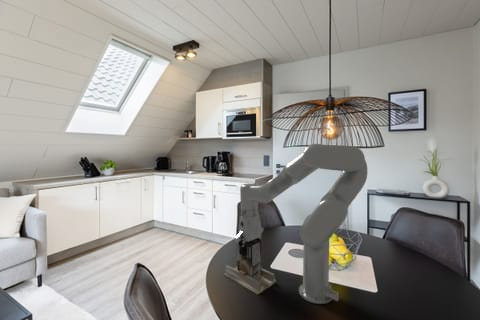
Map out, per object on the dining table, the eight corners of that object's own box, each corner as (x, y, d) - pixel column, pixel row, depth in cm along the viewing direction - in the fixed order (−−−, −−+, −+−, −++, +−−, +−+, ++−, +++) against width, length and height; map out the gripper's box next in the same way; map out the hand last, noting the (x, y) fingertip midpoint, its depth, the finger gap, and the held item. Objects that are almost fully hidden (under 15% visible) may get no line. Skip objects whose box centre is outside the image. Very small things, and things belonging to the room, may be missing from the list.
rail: (242, 266, 116) (242, 256, 115) (276, 282, 102) (276, 271, 101) (223, 275, 107) (223, 265, 107) (257, 294, 93) (257, 282, 93)
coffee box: (262, 277, 103) (262, 241, 103) (252, 283, 99) (252, 245, 98) (246, 270, 110) (246, 235, 109) (236, 275, 105) (236, 239, 104)
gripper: (241, 218, 94) (242, 260, 95) (268, 210, 106) (269, 247, 107) (228, 215, 99) (230, 255, 100) (256, 207, 112) (256, 243, 112)
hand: (250, 251), depth 104 cm, fingers open, 9 cm apart
